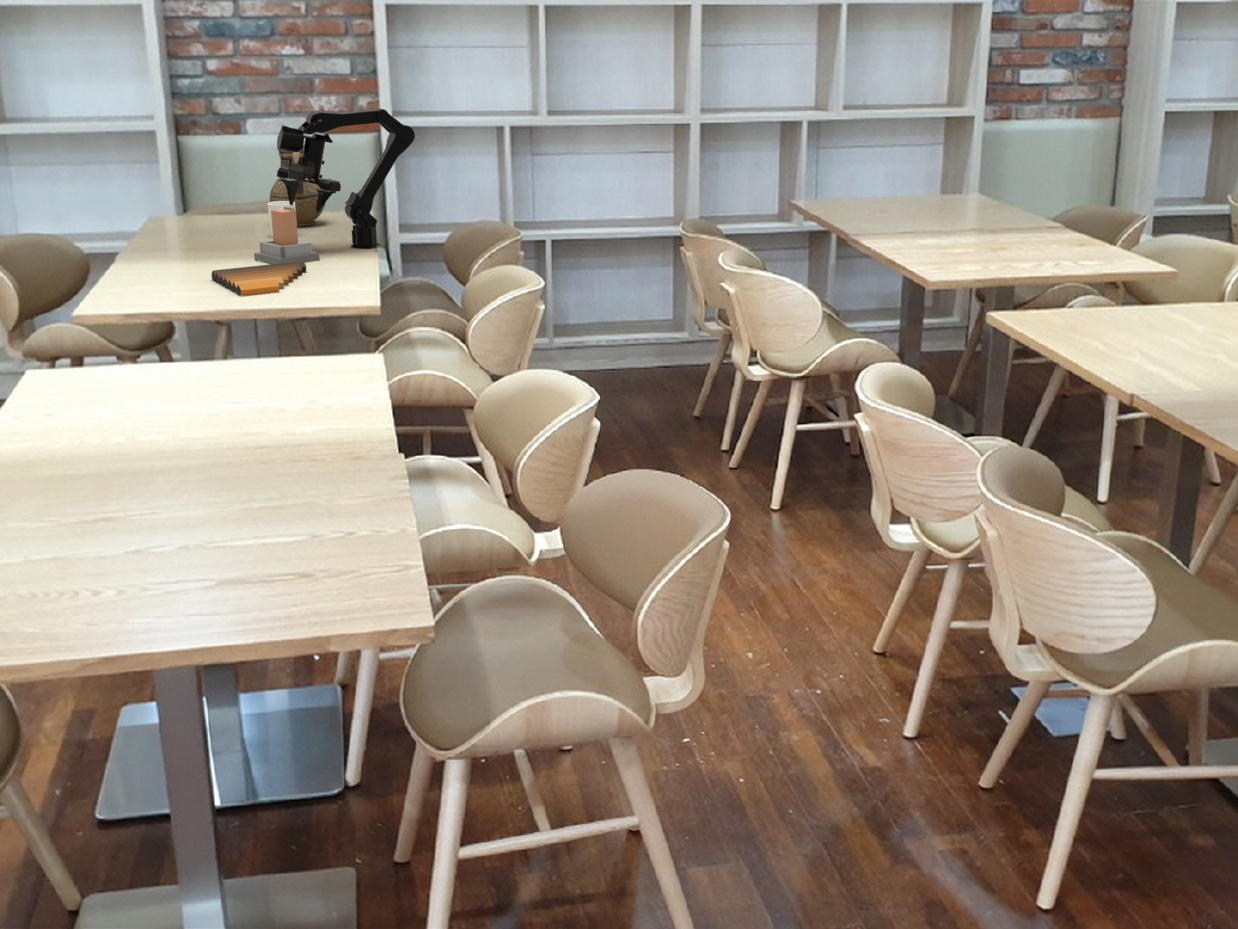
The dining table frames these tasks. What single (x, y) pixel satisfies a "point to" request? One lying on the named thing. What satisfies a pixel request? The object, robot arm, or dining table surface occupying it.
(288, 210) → the peach block
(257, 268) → the pan flute
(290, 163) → the decorative pitcher
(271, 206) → the mug
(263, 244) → the dock
